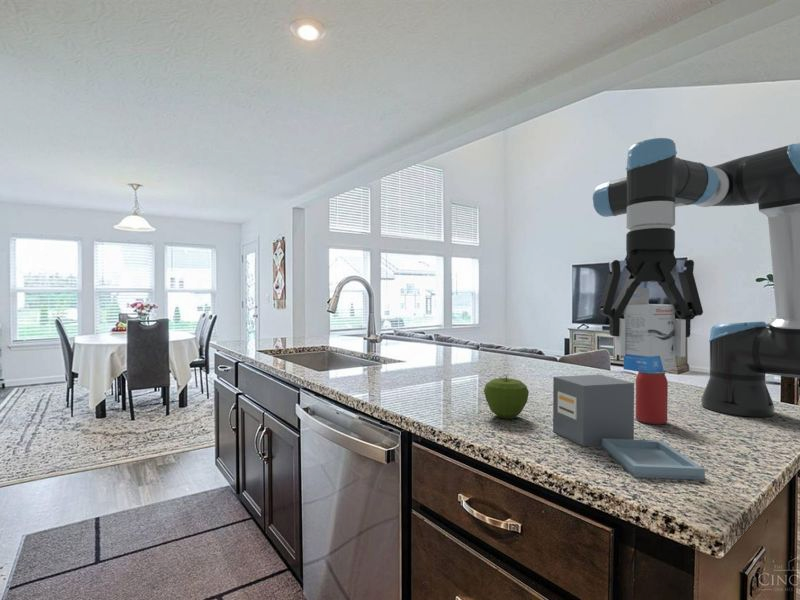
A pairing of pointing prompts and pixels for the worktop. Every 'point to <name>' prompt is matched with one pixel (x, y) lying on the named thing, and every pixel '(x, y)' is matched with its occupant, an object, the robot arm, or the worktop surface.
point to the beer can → (651, 397)
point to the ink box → (648, 334)
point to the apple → (506, 397)
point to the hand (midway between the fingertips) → (649, 355)
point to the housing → (593, 408)
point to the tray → (652, 459)
